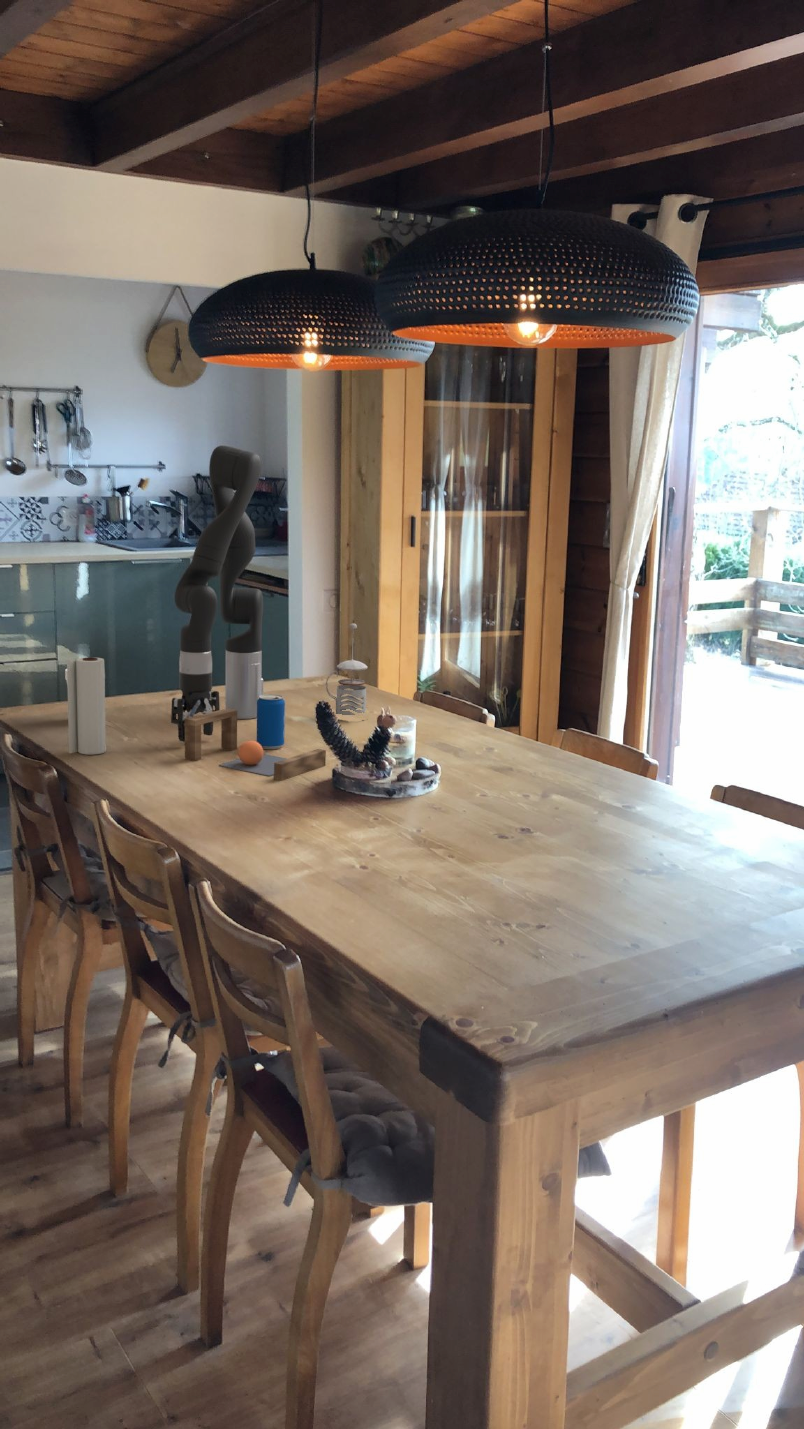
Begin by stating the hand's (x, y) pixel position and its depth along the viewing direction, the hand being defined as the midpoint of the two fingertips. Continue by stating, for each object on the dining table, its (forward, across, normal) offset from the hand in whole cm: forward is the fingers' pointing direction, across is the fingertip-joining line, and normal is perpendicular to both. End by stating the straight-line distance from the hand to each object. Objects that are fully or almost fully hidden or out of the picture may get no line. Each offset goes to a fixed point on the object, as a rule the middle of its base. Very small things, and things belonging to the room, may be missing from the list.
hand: (195, 738), depth 280 cm
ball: (-1, -7, -22) cm, 23 cm away
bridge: (+1, -5, -9) cm, 10 cm away
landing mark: (+1, -5, -24) cm, 25 cm away
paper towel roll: (+2, -21, +13) cm, 25 cm away
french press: (+2, +47, -11) cm, 48 cm away
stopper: (+1, -5, -34) cm, 34 cm away
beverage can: (+2, +9, -15) cm, 18 cm away
